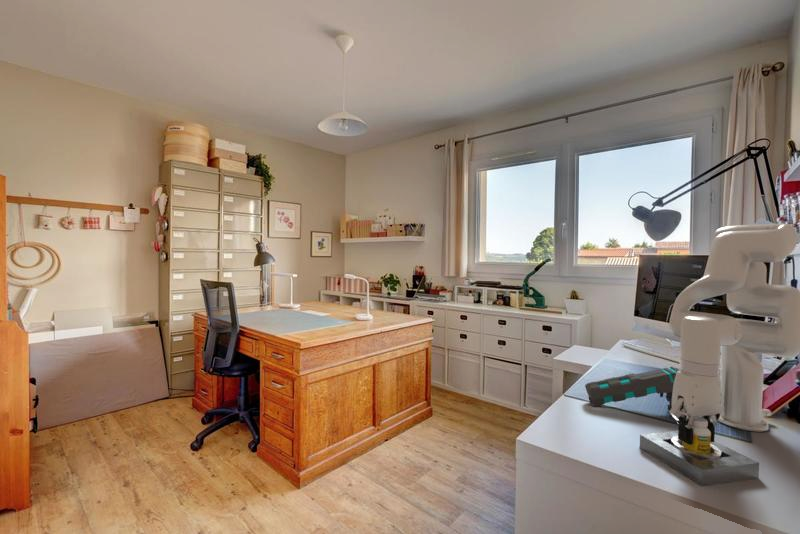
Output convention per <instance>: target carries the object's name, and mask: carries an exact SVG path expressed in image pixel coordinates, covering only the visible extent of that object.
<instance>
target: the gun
mask: <svg viewBox="0 0 800 534" xmlns="http://www.w3.org/2000/svg"><path fill="white" fill-rule="evenodd" d="M669 367H670V368H668V367H664V368H663V369H660V368H659V369H655V370H649V371H644V372H640V373H627V374H624V375H621V376H616V377H610V378H605V379H602V380H598V381H591V382H587V383H586V384H585V385H584V387H585V390H586V393H587V396H588V400H589V403H590V404H591V405H592V406H593V407H597V406H602V405H603V406H604V405H605V404H607V403H612V402H614V403H617V402H621V401H626V399H627V400H628V399H631V398H636V399H637V398H642V397H646V396H648V395H652V394H659V397H660V398H664V394H666V395H665V399H666V401H667V402H669V404H667V405H666V406H667V409H668V410H669V411H670V410H671V408H672V392H673V385H674V380H675V377H676V373H677V371H679V368H677V367H674V366H669ZM685 413H686V411H685Z"/></svg>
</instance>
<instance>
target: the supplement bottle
mask: <svg viewBox="0 0 800 534" xmlns="http://www.w3.org/2000/svg"><path fill="white" fill-rule="evenodd" d="M687 418H688V416H686V419H685V420H686V421H687ZM707 426H708V421H707V420H706V419H704V418H702V417H701V416H697V417H694V420H693V423H692V426H691V428H692V429H693V444H692V445H689V444H687V443H685V442H683V441H682V446H683V447H685V448H687V449H689V450H692V451H695V452H699V453H705V454H709V453H710V444H711V432H710V430H709V429H708V428H706V427H707Z"/></svg>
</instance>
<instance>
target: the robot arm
mask: <svg viewBox="0 0 800 534" xmlns="http://www.w3.org/2000/svg"><path fill="white" fill-rule="evenodd" d="M798 240H799V239H798V232H797V229H796V228H795V227H794V226H793V225H792V224H790V223H764V224H763V223H762V224H740V225H739V224H738V225H736V224H735V225H727V226H724V227H720V228H718V229H716V230H715V231H714V234H713V240H712V243H711V246H710V251H709V255H708V258H707V262H706V266H705V269H704V273H703V276H702V277H701V278H699V279H698V280H695V281H694V282H693V283H691V284H689V285H687V286H686V287H685V288H684V289H683V290H682V291H681V292H680V293H679V294H678V295H677V297H676V299H675V301H674V303H673V306H672V309H671V314H670V317H669V324H668V325H669V326H668V327H669V330H670V332H671V334H672V335H673V336H675V337H676V338H679V340H680V341H679V342H680V343H679V348H680V349H679V366H678V367H679V368H678V369H679V371H677V373H676V377H675V380H674V385H673V392H672V408H671V410H669V415H671V416H672V418H673V419H674V420H675V421H676V423H677V424H678V427H677V428H678V430H677V431H678V438H679V439H680V440H681V441H683V442H685V443H687V444H689V445H692V444H693V429H692V428H691V426H692V423H693V420H694V417H697V416H699V417H702V418H704V419H706V420H707V421H708V426H707V427H706V428H708V429H709V430H710V432H711V442H714V441H715V435H716V430H715V429H716V426H717V425H718V422H719V423H722V424H724V425H727V426H730V427H731V428H734V429H735V428H736V429H738V430H739V429H740V430H743V431H749V432H750V431H751V432H759V433H760V432H766V431H768V430H769V423H768V422H766V421H765V420H764V419H763V418H764V417H770V416H772V411H771V410H770V409H768V408H763V396H764V395H763V394H764V393H763V392H764V391H763V390H764V389H763V388H764V373H765V372H764V371H765V370H764V367H763V365H762V362H761V361H760V360H759V358H758V357H757V356H756V355H755V354H761V355H765V356H766V355H767V356H772V357H778V358H779V357H780V358H786V359H790V358H791V359H792V358H796V357H797V356H798V355H799V354H800V289H798V288H797V287H795V286H790V285H786V284H785V285H783V284H782V285H781V284H769V283H768V282H767V273H768V272H767V271H768V270H767V269H768V268H767V265H766V264H765V263H779V262H783V260H785V259H786V258H787V257H788V256H789V255H791V254H792V253H793V252H794V250H795V249H796V246H797V244H798ZM722 295H726V307H727V309H728V310H729V311H730V312H732V313H734V314H738V315H747V316H755V317H766V318H773V319H776V320H777V322H771V321H764V320H763V321H762V320H755V319H747V318H735V317H733V316H730V315H726V314H718V313H710V312H709V313H708V312H703V311H702V312H701V311H692V310H691V309H692V307H693V306H694V305H696V304H698V303H700V302H701V301H703V300H707V299H710V298H714V297H718V296H722ZM685 411H686V413H685ZM685 416H686V419H685ZM687 416H688V418H687ZM686 420H687V421H686Z"/></svg>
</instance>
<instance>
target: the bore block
mask: <svg viewBox="0 0 800 534" xmlns="http://www.w3.org/2000/svg"><path fill="white" fill-rule="evenodd" d="M639 448H640V449H641V450H643V452H644V451H645V452H646V453H648V454H649V455H651V456H653V457H654V458H655V459H657V460H659V461H660V462H662V463H664V464H665V465H667V466H668V467H670V468H672V469H674V470H675V471H677V472H678V473H679V474H681V475H683V476H685V477H687V478H688V479H690V480H691V481H692V482H694V483H696V484H697V485H699V486H701V487H703V486H711V485H718V484H725V483H733V482H738V481H745V480H752V479H759V476H760V475H759V473H760V462H759V461H756V460H755V459H752V458H750V457H748V456H746V455H745V454H742V453H740V452H738V451H736V450H734V449H732V448H729V447H728V446H725V445H723V444H721V443H719V442H716V440H714V442H711V444H710V453H709V454H705V453H699V452H695V451H692V450H689V449H687V448H685V447H683V446H682V441H681V440H680V439H679V438H678V430H673V431H672V430H671V431H670V430H669V431H663V432H661V431H660V432H654V433H653V432H651V433H642V434H640V435H639Z"/></svg>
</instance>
